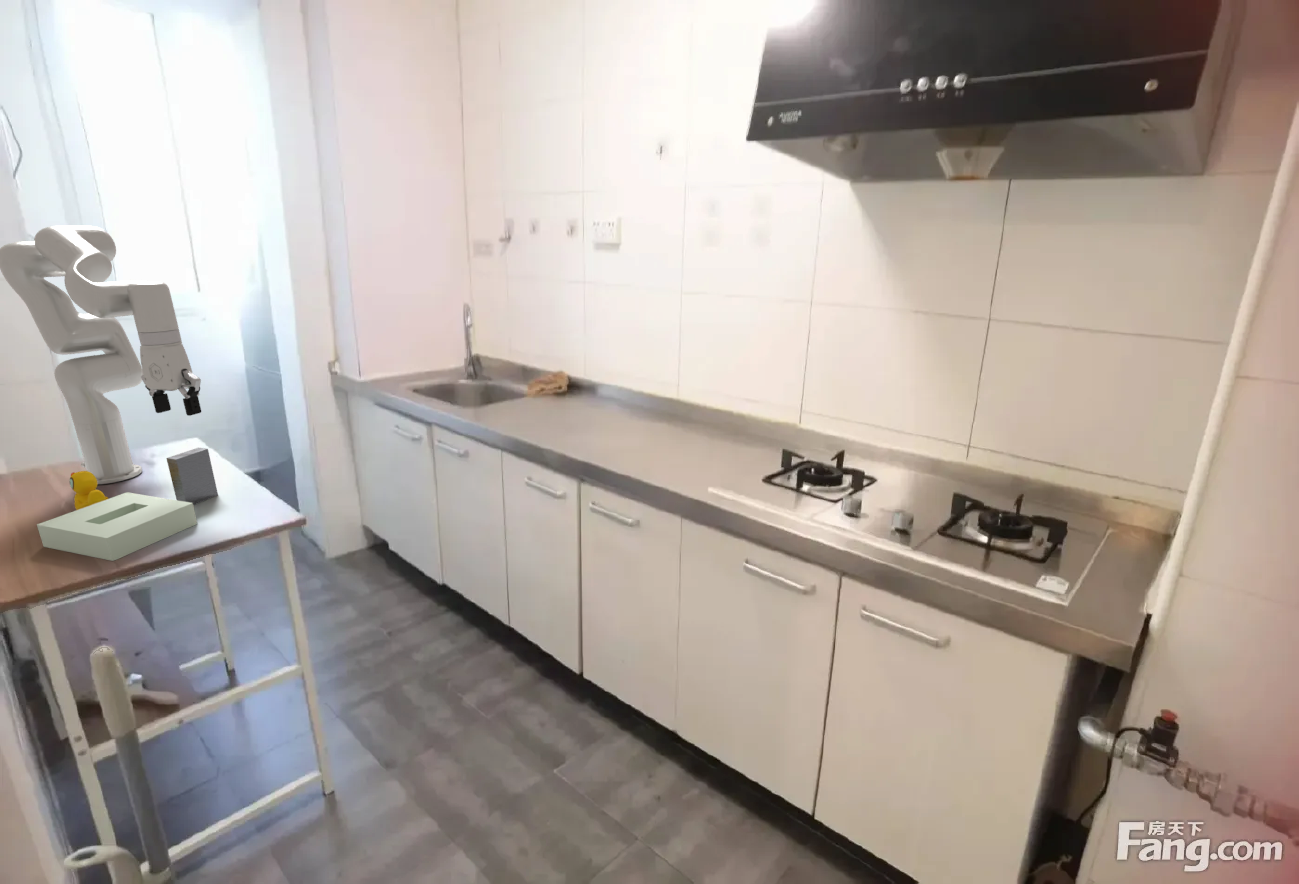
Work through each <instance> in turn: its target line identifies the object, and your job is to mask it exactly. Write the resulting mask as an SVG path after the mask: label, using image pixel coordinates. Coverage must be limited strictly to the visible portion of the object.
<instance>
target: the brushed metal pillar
mask: <svg viewBox="0 0 1299 884" xmlns="http://www.w3.org/2000/svg"><path fill="white" fill-rule="evenodd" d="M210 456H211V455H210V452H209V448H206V447H205V448H204V447H196V448H194V449H193V448H192V449H190V450H187V451H184V452H181V453H178V454H175V455H171V456H169V457H166V462H167V467H168V469H169V474H170V480H171V481H172V487H173V491H174V495H175V500H177V501H183V502H190V503H193V506H195V505H197V504H199V503H202V502H204V501H207V500H210V499H211V498H214V497H217V496H218V495H219V494H218V489H217V488H218V487H217V484H216V479H215V474H214V470H213V466H212V462H211V457H210Z"/></svg>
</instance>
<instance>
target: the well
mask: <svg viewBox="0 0 1299 884" xmlns="http://www.w3.org/2000/svg"><path fill="white" fill-rule="evenodd" d="M195 525H198V521H197V516H196V511H195V505H193V503H190V502H183V501H177V500H176V499H169V498H163V497H159V496H153V495H152V496H151V495H145V494H139V493H132V492H129V491H126V492H124V493H121V494H118V495H116V496H115V495H114V496H112V497H110V498H108V499H107V500H104V501H101V502H98V503H96V504H93V505H90V506H87V507H84V508H82V509H79V510H76V509H75V510H73V511H72V512H71V511H70V512H67V513H65V514H63V515H59V516H57V517H55V518H51V519H49V520H46V521H42V522H40V523H37V524H36V526H37V530H38V533H39V536H40V540H41V542H42V546H43V548H49V549H53V550H58V551H62V552H68V553H73V554H78V555H82V556H85V557H86V556H87V557H92V558H96V559H97V558H98V559H101V560H107V561H112V562H115V561H116V560H119V559H121V558H123V557H125V556H128V555H130V554H132V553H135V552H137V551H139V550H142V549H143V548H146V547H148V546H150V545H153V544H155V543H158V542H159V541H162V540H164V539H167V538H168V537H171V536H173V535H175V534H178V533H179V532H180V533H181V532H182V531H184V530H187V529H188V528H191V527H193V526H195Z"/></svg>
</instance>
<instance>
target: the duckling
mask: <svg viewBox="0 0 1299 884" xmlns="http://www.w3.org/2000/svg"><path fill="white" fill-rule="evenodd" d="M68 481H69V485H70V487H71V489H72V491H73V492H74V493H75V495H74V497H73V498H74V499H73V500H74V508H75V511H76V510H79V509H82V508H84V507H87V506H90V505H93V504H96V503H98V502H101V501H104V500H107V499H109V496H106V495H105V494H104V493H103V491H101V490H100V489H97V487H98V484H97V479H96V477H95V476H94V475H93V474H92V473H91V472H88V471H86V470H80V471H77V472H75V471H74V472H71V473H70V477H69V480H68Z"/></svg>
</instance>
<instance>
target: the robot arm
mask: <svg viewBox="0 0 1299 884" xmlns="http://www.w3.org/2000/svg"><path fill="white" fill-rule="evenodd" d="M116 254H117V248H116V243H115V241H114V239H113V237H112V236H111V235H110V234H109V233H108V231H106V230H104V229H103V228H101V227H98V226H94V225H52V226H51V225H50V226H46V227H44V228H41V229H40V230H38V232H37V233H36V234H35V236H34V240H23V241H14V242H10V243H7V244H5V245H3V246H1V247H0V271H1V273H2V276H3V277H4V279H5V280H6V282H7V283H8V285H9V286H10V287H11V288H12V290H13V291H14V292H15V293H16V294H17V295H18V296H19V297H20V298H21V300H22V301H23V302H24V304H25V305H26V307H27V309H28V311H29V313H30V315H31V317H32V319H33V320H34V324H35V325H36V327H37V328H38V330H39V333H40V334H41V337H42V339H43V340H44V342H45V344H46V346H47V347H48V349H49V350H50V351H52V352H53V353H54V354H56V355H62V356H63V355H76V354H77V355H78V354H84V353H90V352H91V353H92V352H97V351H101V352H103V353H101V354H96V355H95V354H92V355H88V356H80V357H75V358H70V359H69V358H68V359H67V360H63V361H62V362H60V363H58V364H57V366H55V369H54V373H53V374H54V378H55V381H56V383H57V385H58V388H59V390H60V391H61V393H62V395H63V397H64V399H65V402H66V405H67V406H68V410H69V413H70V415H71V416H70V417H71V420H72V422H73V425H74V429H75V434H76V436H77V440H78V443H79V446H80V451H81V454H82V457H83V461H82V462H81V463H80V467H82V468H85V469H86V470H85V471H88V472H91V473H92V474H93V475H94V476H95V477H96V479H97V485H106V484H113V483H118V482H122V481H127V480H129V479H132V478H134V477H137V476H138V475H140V474H141V473H142V472H143V467H142V466H141V465H139V464H134V462H133V458H132V455H131V450H130V447H129V443H128V439H127V435H126V431H125V427H124V423H123V420H122V417H121V412H120V409H119V408H118V406H117V405H116V403H114V402H112V401H111V400H110V399H108V398H107V397H106V396H105V395H104V394H106V393H110V392H115V391H120V390H125V389H130V388H134V387H137V386H139V385H140V384H141V383H142V382H143V384H144V385H145V386H144V387H145V388H146V389H147V390H148V391H149V392H148V394H149V395H150V396H151V398H152V399H151V400H152V403H153V406H154V410H155V413H157V414H161V413H165V412H169V411H171V410H172V406H171V403H170V399H169V395H168V393H165V392H166V391H167V392H174V391H175V392H176V391H179V392H180V393H181V395H182V396H183V397H184V398H182V402H183V405H184V409H185V414H186V416H189V417H191V416H193V415H198V414H201V413H202V408H201V403H200V399H199V396H200V390H201V383H202V382H201V381H202V380H201V378H200V377H198V376H197V375H195V374H194V373H193V370H192V366H191V363H190V359H189V357H188V354H187V352H186V349H185V347H184V344H183V342H182V336H181V333H180V332H181V331H180V328H179V324H178V320H177V315H176V311H175V307H174V302H173V300H172V295H171V291H170V287H169V286H168V285H167V284H166V283H165V282H163V281H148V280H142V279H141V280H139V279H137V280H136V279H135V280H119V281H107V279H109V277H110V276H111V274H112V270H113V266H112V261H113V260H114V259H115V257H116ZM52 277H53V278H54V277H55V278H58V277H64V286H65V289H66V292H65V291H64V290H63V289H61V288H60V287H59V286H56V285H55V284H54V283H51V281H48V280H46V279H45V278H52ZM74 304H76V306H78V307H79V309H81V310H83V311H84V312H86V313H80V312H78V311H77V309H76V307H75V305H74ZM127 316H128V317H129V316H133V319H134V323H135V327H136V330H137V336H138V340H139V343H140V346H139V347H140V348H139V355H140V356H139V357H140V360H139V358H138V356H137V354H136V352H135V350H134V348H133V345H132V344H131V342H130V340H129V338H128V336H127V333H126V332H125V329H124V327H123V326H122V324H121V323H120V321H119V320H118V319H116V318H120V317H127ZM187 389H188V390H187Z"/></svg>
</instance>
